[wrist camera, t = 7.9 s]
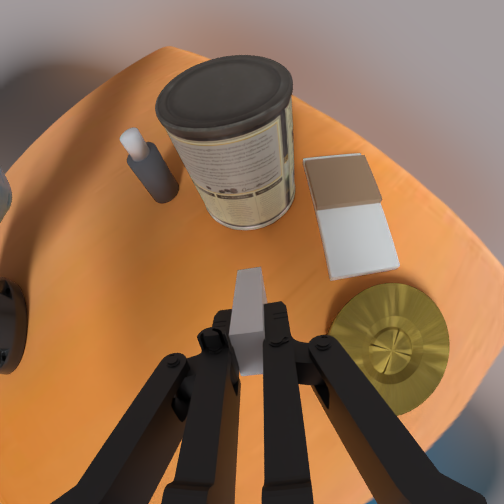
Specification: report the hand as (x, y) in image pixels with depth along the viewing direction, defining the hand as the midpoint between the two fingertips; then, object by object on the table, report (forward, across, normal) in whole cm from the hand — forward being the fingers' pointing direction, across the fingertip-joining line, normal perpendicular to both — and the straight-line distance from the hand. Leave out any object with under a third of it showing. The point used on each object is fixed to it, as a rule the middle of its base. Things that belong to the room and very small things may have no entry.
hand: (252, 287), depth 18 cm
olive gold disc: (+2, +11, -10) cm, 15 cm away
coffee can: (+15, 0, +4) cm, 15 cm away
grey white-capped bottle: (+16, -10, +6) cm, 20 cm away
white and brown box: (+12, +10, +1) cm, 15 cm away
